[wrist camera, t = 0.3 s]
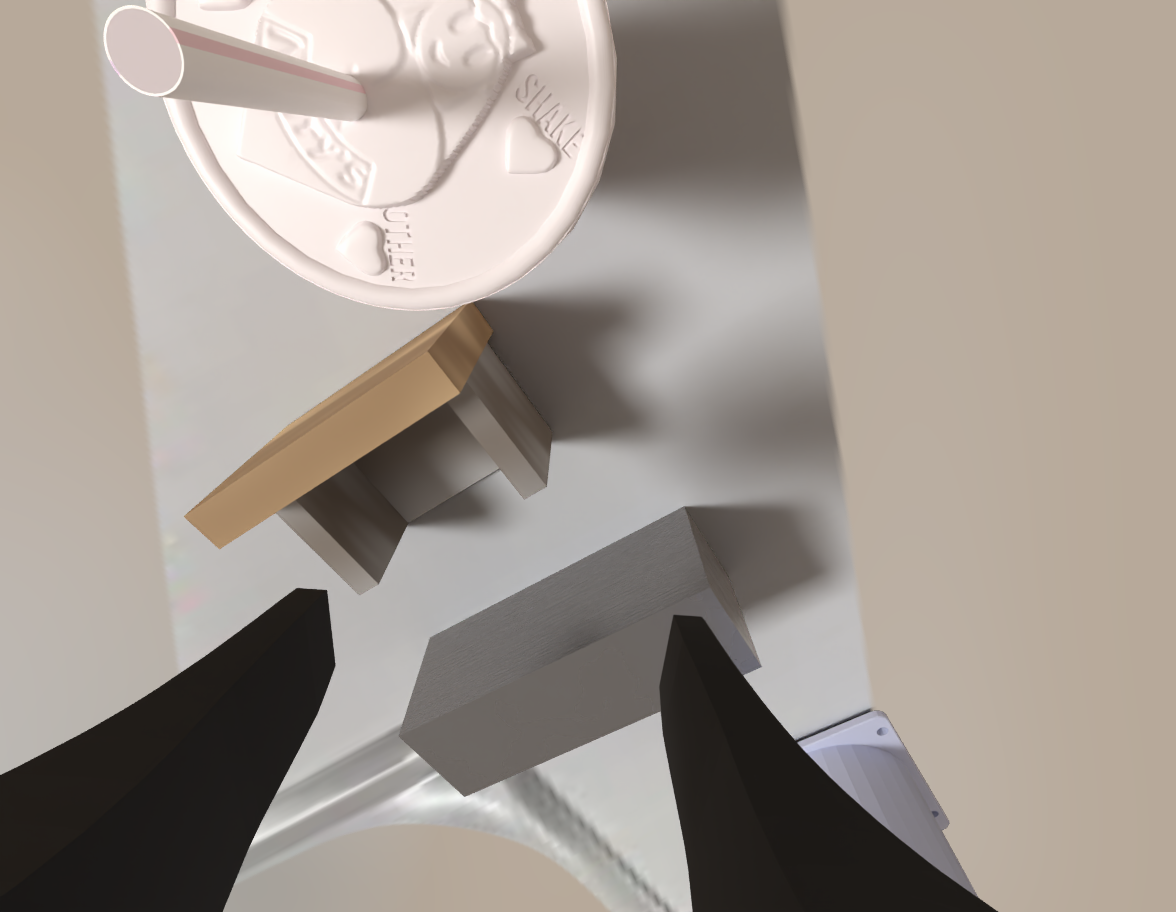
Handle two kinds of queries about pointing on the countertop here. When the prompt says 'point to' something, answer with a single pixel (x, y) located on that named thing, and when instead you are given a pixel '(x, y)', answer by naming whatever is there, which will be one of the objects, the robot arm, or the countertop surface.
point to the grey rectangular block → (568, 656)
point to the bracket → (388, 451)
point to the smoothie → (386, 130)
